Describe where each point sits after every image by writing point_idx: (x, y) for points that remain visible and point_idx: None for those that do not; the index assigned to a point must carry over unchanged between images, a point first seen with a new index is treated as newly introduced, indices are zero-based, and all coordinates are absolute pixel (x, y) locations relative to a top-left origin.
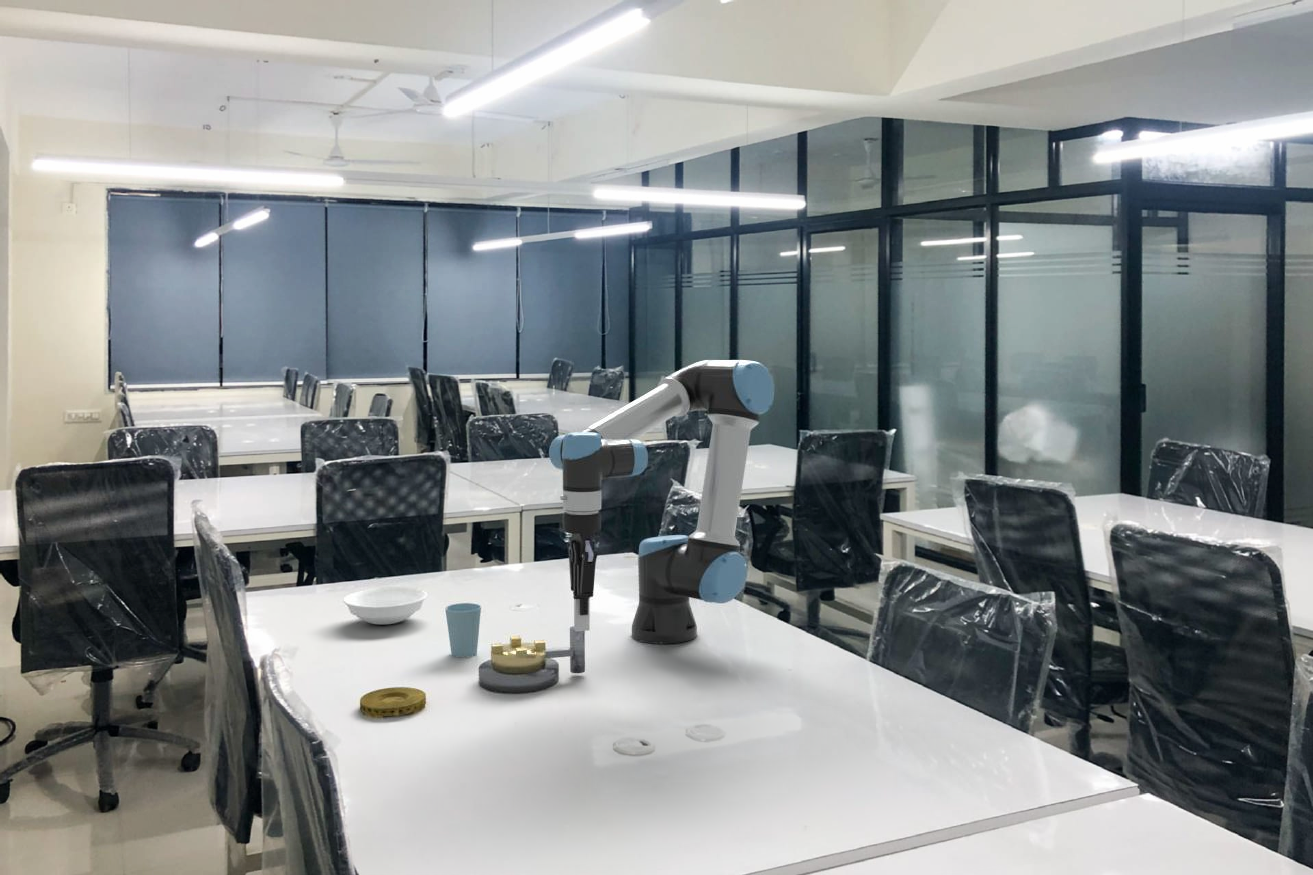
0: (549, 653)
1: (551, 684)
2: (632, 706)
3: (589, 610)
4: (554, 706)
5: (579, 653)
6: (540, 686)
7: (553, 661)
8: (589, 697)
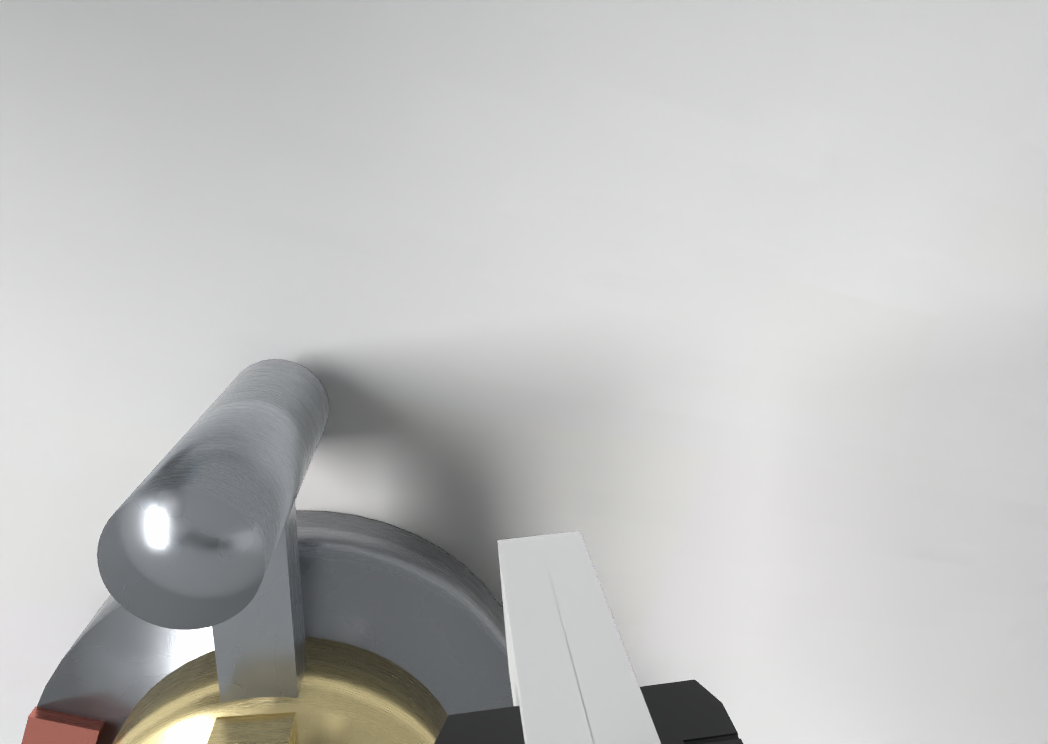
0: (300, 664)
1: (464, 573)
2: (926, 198)
3: (632, 677)
4: (762, 583)
5: (307, 452)
6: None
7: None
8: (697, 398)
